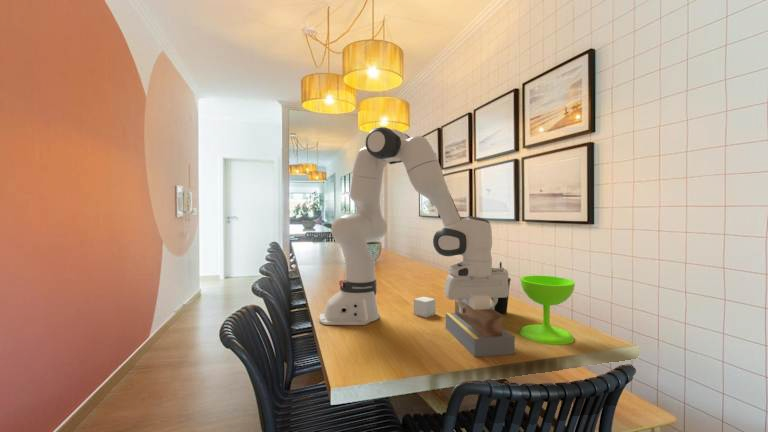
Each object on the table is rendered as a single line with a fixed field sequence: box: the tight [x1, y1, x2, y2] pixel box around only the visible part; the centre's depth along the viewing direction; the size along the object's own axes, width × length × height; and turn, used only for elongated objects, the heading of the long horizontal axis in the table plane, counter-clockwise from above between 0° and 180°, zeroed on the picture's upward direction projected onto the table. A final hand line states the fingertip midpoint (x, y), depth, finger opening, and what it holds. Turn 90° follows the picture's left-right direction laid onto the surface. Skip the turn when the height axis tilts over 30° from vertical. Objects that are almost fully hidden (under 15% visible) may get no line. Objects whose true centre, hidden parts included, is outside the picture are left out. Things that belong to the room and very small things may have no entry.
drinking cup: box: [494, 261, 512, 315], centre depth 138 cm, size 8×8×20 cm
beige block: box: [468, 293, 491, 310], centre depth 108 cm, size 5×5×4 cm
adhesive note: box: [413, 296, 436, 318], centre depth 137 cm, size 6×6×6 cm
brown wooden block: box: [454, 300, 504, 337], centre depth 110 cm, size 6×22×6 cm, turn 10°
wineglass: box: [519, 274, 576, 346], centre depth 114 cm, size 16×16×18 cm
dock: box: [445, 312, 516, 358], centre depth 111 cm, size 12×24×5 cm, turn 9°
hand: (476, 312), depth 110 cm, fingers open, 8 cm apart
